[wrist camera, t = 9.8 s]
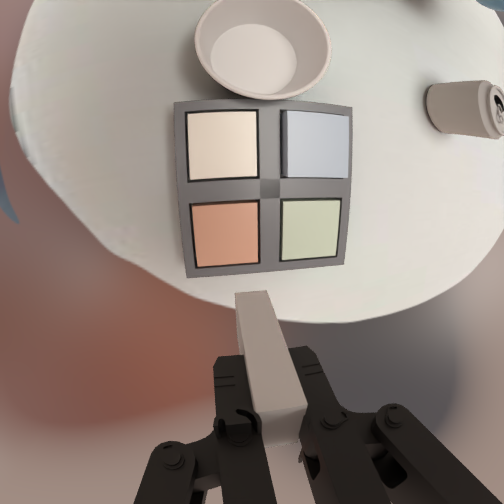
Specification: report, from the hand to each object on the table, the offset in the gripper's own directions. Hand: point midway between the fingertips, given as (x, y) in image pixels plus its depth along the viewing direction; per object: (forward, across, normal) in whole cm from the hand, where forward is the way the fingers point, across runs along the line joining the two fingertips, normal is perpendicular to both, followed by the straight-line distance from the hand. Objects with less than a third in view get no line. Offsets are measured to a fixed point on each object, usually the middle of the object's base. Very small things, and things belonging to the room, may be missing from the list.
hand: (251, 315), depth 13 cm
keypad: (+18, +4, +4) cm, 19 cm away
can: (+19, +30, +16) cm, 39 cm away
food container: (+19, +3, +18) cm, 26 cm away
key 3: (+15, +8, +8) cm, 19 cm away
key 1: (+16, +8, -1) cm, 18 cm away
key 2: (+16, -1, -1) cm, 16 cm away
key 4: (+16, -1, +8) cm, 18 cm away
